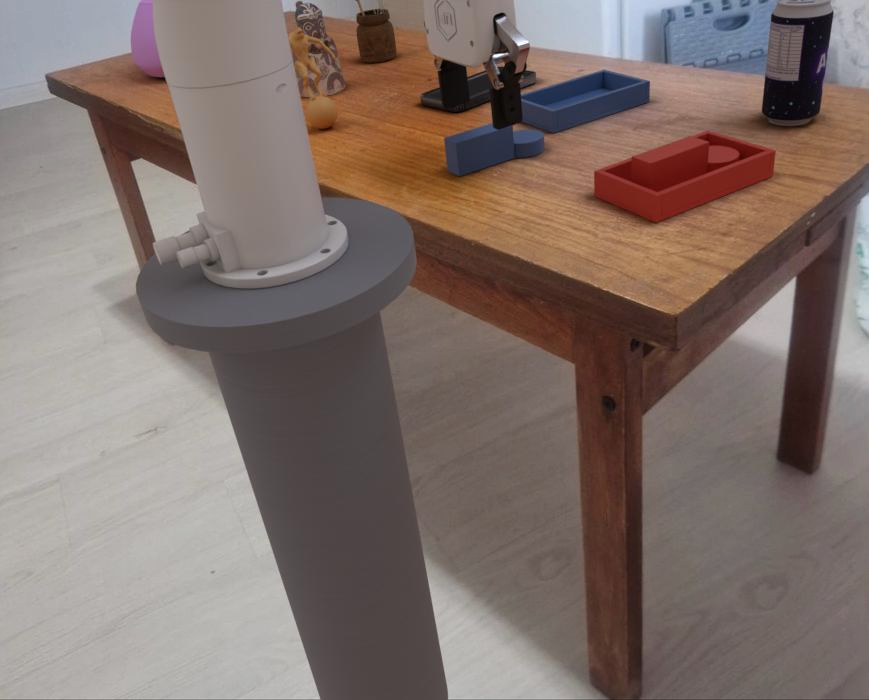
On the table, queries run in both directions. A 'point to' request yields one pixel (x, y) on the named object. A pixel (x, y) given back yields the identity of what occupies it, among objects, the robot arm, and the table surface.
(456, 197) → the table surface
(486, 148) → the blue block with disc
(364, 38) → the utensil holder
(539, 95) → the blue tray
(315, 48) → the figurine
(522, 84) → the phone
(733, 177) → the red tray
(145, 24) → the teapot
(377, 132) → the table surface
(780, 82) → the beverage can
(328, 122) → the figurine
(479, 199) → the table surface
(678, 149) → the red block with disc
